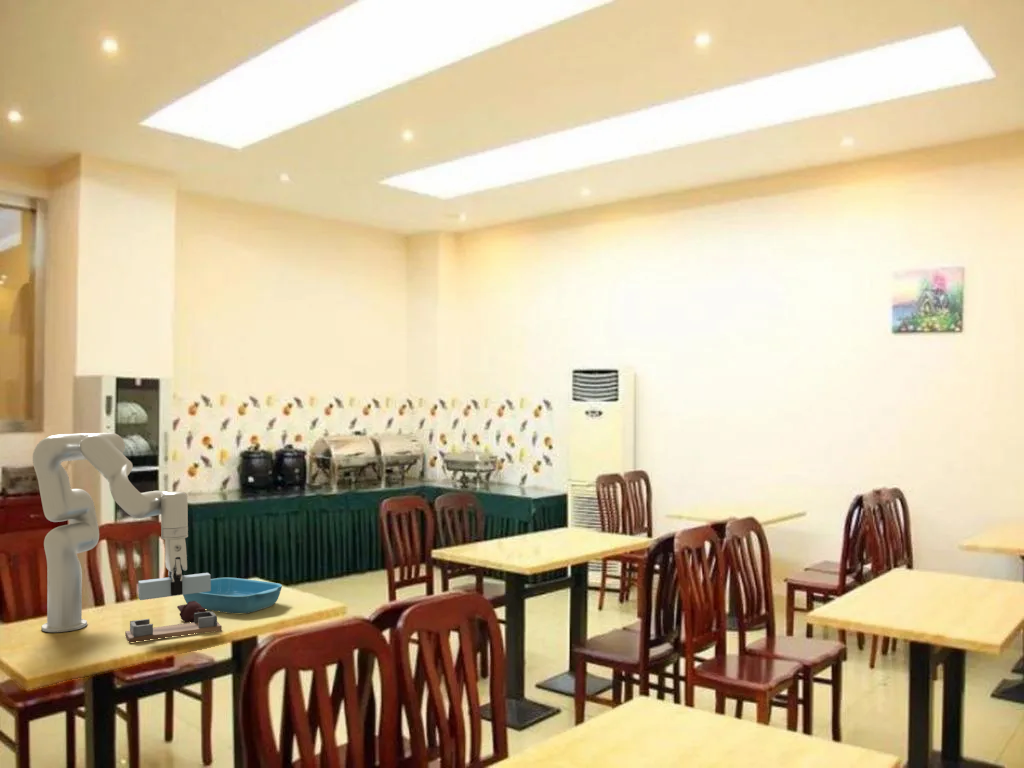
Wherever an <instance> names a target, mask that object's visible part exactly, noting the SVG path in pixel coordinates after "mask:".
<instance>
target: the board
mask: <svg viewBox="0 0 1024 768" xmlns="http://www.w3.org/2000/svg"><path fill="white" fill-rule="evenodd" d="M222 628H223V627H222V625H221V624H220V623H219V622H218V621H217V626H213V627H206V628H198V623H194V622H192V623H190V622H188V623H185V622H184V623H179V624H171V625H162V626H156V627H154V626H153V635H147V636H139V637H133V636H132V634H131V632H130V630H125V633H124V635H125V636H126V637H125V638H126V640H127V642H128V641H129V642H128V644H129V643H130V642H136V641H144V640H150V639H158V638H165V637H172V636H181V635H188V634H194V633H195V634H196V633H203V634H206V633H205V632H210V633H214V631H217V632H221V631H222ZM196 635H197V634H196ZM188 636H189V635H188ZM181 637H182V636H181ZM130 644H131V643H130Z"/></svg>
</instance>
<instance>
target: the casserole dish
mask: <svg viewBox="0 0 1024 768" xmlns="http://www.w3.org/2000/svg"><path fill="white" fill-rule="evenodd" d="M282 588H283V585H282V584H281V583H278V582H277V583H276V582H270V581H262V580H255V579H248V578H240V577H238V578H237V577H217V578H211V591H208V592H200V593H192V594H185V595H182V596H183V597H184V600H185V602H186V604H187V603H188V602H190V601H191V602H192V601H196V602H198V603H199V604H200V605H201V606H202V608H205V609H207V610H206V611H211V610H213V611H212V612H217V611H220V612H219V613H224V612H227V613H226V614H232V613H246V614H250V612H251V613H255V612H257V611H260V610H263V609H267V608H270V607H272V606H274V605H275V604H276V603H277V602H278V600H279V597H280V594H281V591H282Z"/></svg>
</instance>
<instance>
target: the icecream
mask: <svg viewBox="0 0 1024 768" xmlns="http://www.w3.org/2000/svg"><path fill="white" fill-rule="evenodd" d="M177 609H178V611H179V617H180V619H181V621H183V622H184V623H185V622H188V623H190V622H191V623H192V622H194V613H199V612H207V610H205V608H202V606H201V605H200V604H199V603H198V602H196V601H192V602H191V601H190V602H188V603H186V604H182V605H181V604H180V605H178V606H177Z"/></svg>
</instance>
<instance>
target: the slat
mask: <svg viewBox="0 0 1024 768" xmlns="http://www.w3.org/2000/svg"><path fill="white" fill-rule="evenodd" d="M211 579H212V578H211V574H210V573H209V572H202V573H194V574H186V575H185V574H184V575H182V594H181V595H180V596H183V595H185V594H192V593H200V592H208V591H211ZM137 582H138V583H137V584H138V585H137V586H138V591H137V592H138V599H139V601H144V600H145V601H147V600H152V599H153V600H155V599H160V598H168V597H176V596H178V595H174V596H172V595H171V582H172V577H160V578H152V579H150V578H149V579H143V580H138V581H137Z"/></svg>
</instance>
